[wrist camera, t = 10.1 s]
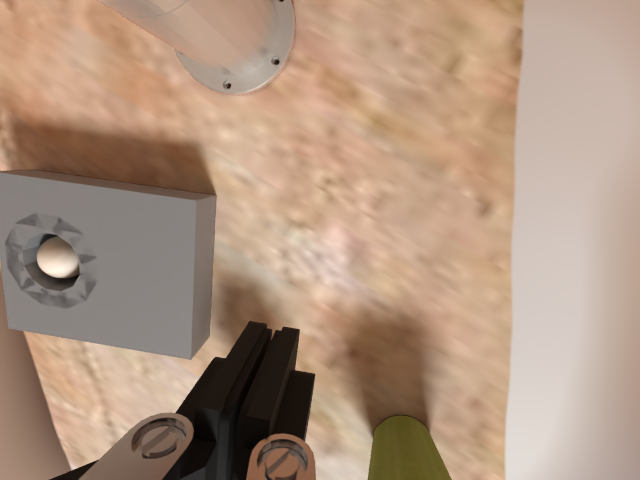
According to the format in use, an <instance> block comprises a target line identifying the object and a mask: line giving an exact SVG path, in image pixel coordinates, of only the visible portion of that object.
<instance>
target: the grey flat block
mask: <svg viewBox="0 0 640 480" xmlns="http://www.w3.org/2000/svg"><path fill="white" fill-rule="evenodd" d="M215 215H216V195H211V194H203V193H196V192H189V191H182V190H175V189H168V188H161V187H154V186H147V185H140V184H132V183H125V182H118V181H111V180H104V179H97V178H90V177H83V176H76V175H69V174H61V173H54V172H47V171H40V170H12V171H0V261H1V270H2V278H3V287H4V296H5V304H6V313H7V321H8V328H11V329H16V330H22V331H28V332H34V333H39V334H45V335H51V336H57V337H62V338H68V339H74V340H80V341H86V342H91V343H97V344H103V345H109V346H114V347H120V348H126V349H132V350H138V351H143V352H149V353H155V354H161V355H166V356H172V357H178V358H184V359H189V360H191V359H192V358H193V356H194V355H195V354H196V353H197V352H198V350H199V349H200V348H201V347H202V345H203V344H204V343H205V342H206V340H207V339H208V338H209V336H210V316H211V296H212V275H213V255H214V235H215ZM55 236H59V237H60V238H62V239H63V240H65V241H66V242H67V243H69V244H70V245H71V246H72V248H73V250H74V252H75V253H76V255H77V257H78V258H79V268H80V274H79V275H77V276H74V277H70V278H56V277H53V276H50V275H48V274H46V273H45V272H44V271H43V270H42V269H41V268H40V267H39V265H38V262H37V252H38V250H39V248H40V246H41V245H42V244H43V243H44V242H45V241H46V240H48V239H50V238H52V237H55Z"/></svg>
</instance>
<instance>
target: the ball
mask: <svg viewBox="0 0 640 480" xmlns="http://www.w3.org/2000/svg"><path fill="white" fill-rule="evenodd" d="M37 262H38V265H39V267H40V268H41V269H42V270H43V271H44V272H45V273H46V274H48V275H50V276H53V277H56V278H70V277H74V276H77V275H79V274H80V268H79V258H78V257H77V255H76V253H75V252H74V250H73V248H72V246H71V245H70V244H69V243H67V242H66V241H65V240H63V239H62V238H60V237H59V236H55V237H52V238H50V239H48V240H46V241H45V242H44V243H43V244H42V245H41V246H40V248H39V250H38V252H37Z"/></svg>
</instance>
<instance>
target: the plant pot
mask: <svg viewBox="0 0 640 480" xmlns="http://www.w3.org/2000/svg"><path fill="white" fill-rule="evenodd" d="M368 480H452V479H451V477H450V475H449V473H448V471H447V469H446V467H445V465H444V462H443V460H442V458H441V456H440V454H439V452H438V450H437V448H436V446H435V444H434V442H433V439H432V437H431V435H430V433H429V431H428V429H427V428H426V427H425V426H424V425H423V424H422V423H420V422H419V421H418V420H417V419H415V418H412V417H408V416H393V417H389V418H387V419H385V420H384V421H383V422H382V423H381V424H380V425H379V426H377V427H376V429H375V431H374V435H373V443H372V451H371V459H370V466H369V474H368Z"/></svg>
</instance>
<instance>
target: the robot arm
mask: <svg viewBox="0 0 640 480" xmlns="http://www.w3.org/2000/svg"><path fill="white" fill-rule="evenodd" d="M98 1H99V2H101V3H102V4H104V5H105V6H107V7H108V8H110V9H111V10H113V11H115V12H116V13H118V14H119V15H121V16H123V17H124V18H126V19H128V20H129V21H131V22H132V23H134V24H136V25H137V26H139V27H140V28H142V29H144V30H145V31H147V32H148V33H150V34H152V35H153V36H155V37H156V38H158V39H160V40H161V41H163V42H164V43H166V44H168V45H169V46H171V47H172V48H174V49H175V52H176V54H177V56H178V58H179V60H180V61H181V63H182V65H183V66H184V68H185V69H186V70H187V71H188V72H189V73H190V75H191V76H192V77H193V78H195V79H196V80H197V81H198V82H200V83H201V84H202V85H204V86H206V87H208V88H210V89H212V90H214V91H217V92H219V93H222V94H228V95H245V94H249V93H253V92H256V91H258V90H260V89H262V88H264V87H266V86H267V85H268V84H270V83H271V82H272V81H273V80H275V78H276V77H277V76H278V75H279V74H280V73H281V72H282V70H283V68H284V67H285V65H286V63H287V62H288V60H289V57H290V55H291V52H292V49H293V45H294V40H295V34H296V20H295V13H294V7H293V4H292V1H291V0H284V1H283V2H280V1H281V0H98ZM277 60H278V61H279V62H280V63H279V64H278V65H275V62H276V61H277ZM229 84H231V88H230V89H228V85H229ZM299 333H300V329H295V328H289V327H283V328H282V331H279V330H276V331H275V334H274V336H273V338H272V340H271V336H272V329H267V325H266V324H264V323H258V322H252V321H250V322H249V323H248V324H247V326H246V328H245V329H244V331H243V332H242V334H241V335H240V337H239V339H238V340H237V342H236V343H235V345H234V346H233V348H232V350H231V351H230V353H229V354H228V356H227V357H226V358H220V357H215V358H214V359H213V360H212V361H211V363H210V364H209V366H208V367H207V369H206V370H205V371H204V373H203V374H202V376H201V377H200V379H199V380H198V381H197V383H196V384H195V386H194V387H193V389H192V390H191V392H190V393H189V394H188V396H187V397H186V399H185V400H184V402H183V403H182V404H181V406H180V407H179V409H178V410H177V412H176V413H161V414H157V415H153V416H150V417H148V418H146V419H144V420H142V421H140V422H139V423H138V424H137V425H135V426H134V427H133V428H132V429H131V430H129V431H128V432H127V433H126V434H125V435H124V436H123V437H122V438H121V439H120V440H119V441H118V442H117V443H116V444H115V445H114V446H113V447H112V448H111V449H110V450H109V451H108V452H107V453H106V454H105V455H103V456H102V457H101V458H100V459H99V460H97V461H94V462H92V463H89V464H87V465H84V466H82V467H79V468H77V469H75V470H72V471H70V472H67V473H65V474H63V475H60V476H57V477H55V478H52V479H50V480H316V473H315V460H314V455H313V452H312V450H311V449H310V447H309V445H308V444H306V443H305V438H306V432H307V426H308V420H309V414H310V408H311V401H312V394H313V387H314V380H315V374H313V373H308V372H302V371H296V370H295V365H296V357H297V349H298V341H299Z"/></svg>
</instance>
